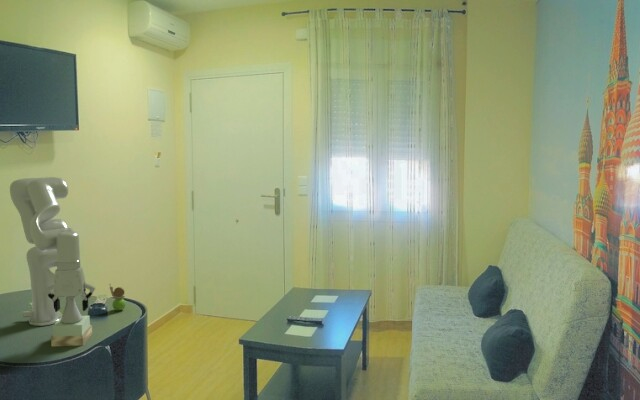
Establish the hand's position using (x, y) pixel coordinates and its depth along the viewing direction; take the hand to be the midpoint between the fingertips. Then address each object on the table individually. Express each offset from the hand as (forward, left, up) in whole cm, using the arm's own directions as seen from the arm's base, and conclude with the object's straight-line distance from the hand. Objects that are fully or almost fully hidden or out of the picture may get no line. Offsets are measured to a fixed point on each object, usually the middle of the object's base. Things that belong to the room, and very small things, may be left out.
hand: (71, 310), depth 194 cm
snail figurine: (+9, +32, -12) cm, 36 cm away
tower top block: (0, 0, -8) cm, 8 cm away
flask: (0, 0, -4) cm, 5 cm away
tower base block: (0, +1, -12) cm, 12 cm away
